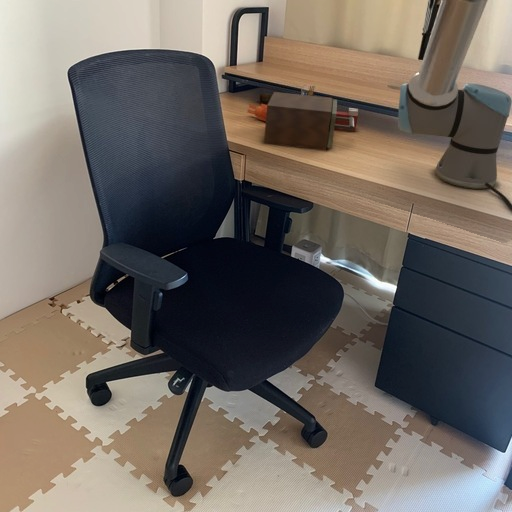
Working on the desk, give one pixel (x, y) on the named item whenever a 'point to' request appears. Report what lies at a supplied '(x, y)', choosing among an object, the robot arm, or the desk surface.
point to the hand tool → (265, 97)
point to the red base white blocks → (351, 113)
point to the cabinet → (298, 120)
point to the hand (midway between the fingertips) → (422, 59)
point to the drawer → (333, 125)
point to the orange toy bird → (259, 111)
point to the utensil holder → (309, 90)
